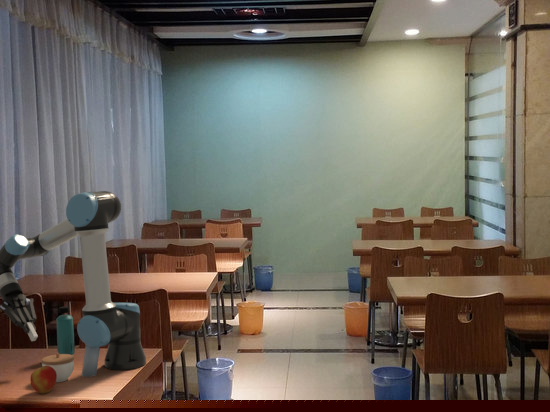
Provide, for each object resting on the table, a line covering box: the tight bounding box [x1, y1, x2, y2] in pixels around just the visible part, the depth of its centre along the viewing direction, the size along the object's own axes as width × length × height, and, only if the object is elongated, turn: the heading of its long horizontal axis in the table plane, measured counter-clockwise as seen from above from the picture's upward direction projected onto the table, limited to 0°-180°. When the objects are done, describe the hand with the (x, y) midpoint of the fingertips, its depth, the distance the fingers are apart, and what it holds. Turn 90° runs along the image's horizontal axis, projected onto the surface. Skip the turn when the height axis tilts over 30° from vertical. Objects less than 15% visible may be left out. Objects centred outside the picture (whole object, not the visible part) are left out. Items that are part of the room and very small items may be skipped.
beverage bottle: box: [55, 306, 76, 356], centre depth 281 cm, size 6×7×20 cm
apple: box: [30, 361, 57, 394], centre depth 238 cm, size 8×8×10 cm
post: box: [81, 344, 101, 378], centre depth 257 cm, size 5×5×12 cm
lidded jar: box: [41, 352, 75, 383], centre depth 252 cm, size 11×11×9 cm
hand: (34, 338), depth 260 cm, fingers closed
